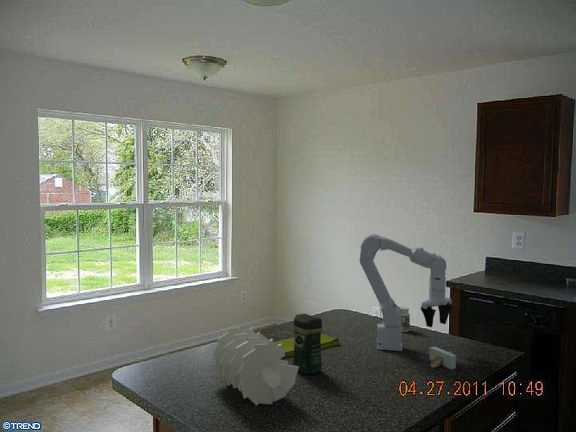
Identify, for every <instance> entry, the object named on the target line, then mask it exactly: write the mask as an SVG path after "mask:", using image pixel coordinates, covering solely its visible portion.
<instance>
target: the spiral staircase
mask: <svg viewBox="0 0 576 432" xmlns="http://www.w3.org/2000/svg"><path fill="white" fill-rule="evenodd" d="M217 342H218V344H217V345H216V347H215V348H214V350H213V352H212V356H214V357H215V358H214V366H213V369H214V370H216V371H217V375H218V377H221V378H222V379H225V381H226V384H227V386H230V385H232V388H233V389H236V388H237V389H238V391H239V392H241V393H242V398H243V399H244V400H245V399H246V398H248V399H249V400H250V401H251V402H252V403H253V404H254V405H255V406H256V407H257V406H258V405H259V404H262V405H273V403H274V402H277V401H279V400H281V399H283V398H285V397H287V394H288V393H289V391H290V390H291V389H292V387H293V386H294V385H295V384H296V382H297V381H296V379H297V378H296V377H297V374H298V372H299V371H298V368H299V366H293V364H292V365H291V364H289V361H288V360H284V359H283V358H282V357H284V356H285V353H284V350H283V348H282V345H281V344H279V345H276V344H274V342H275V341H274V340H273V338H271V339H268V338H267V337H265V335H263V334H262V333H261V331H258V332H257V333H256V332H255V329H254V327H250V328H248V327H247V326H245V325H244V324H240V325H239V327H228V328H227V332H226V333H224V334H223V335H221V336H220V337H218V338H217Z"/></svg>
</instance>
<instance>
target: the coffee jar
mask: <svg viewBox="0 0 576 432" xmlns="http://www.w3.org/2000/svg"><path fill="white" fill-rule="evenodd" d="M293 331H294V332H293V333H294V338H295V341H294V356H292V357H293V358H292V360H293V361H292V365H293V366H299V368H298V372H300V373H301V374H304V375H316V374H317V373H319V372H321V371H322V366H323V365H322V364H323V363H322V349H321V334H322V331H323V321H322V318H320V317H317V316H313V315H312V314H311V315H310V314H307V313H299V314H296V315H295V317H294V319H293Z"/></svg>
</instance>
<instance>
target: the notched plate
mask: <svg viewBox="0 0 576 432" xmlns="http://www.w3.org/2000/svg"><path fill="white" fill-rule="evenodd" d="M435 355H440V358H443V365H442V367H444V368H447V369H449V370H454V369H456V368H457V355H456V354H455V353H453V354H452V353H449V351H447V350H444V349H441V348H439V347H437V346H430V347H429V361H431V356H435Z"/></svg>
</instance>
